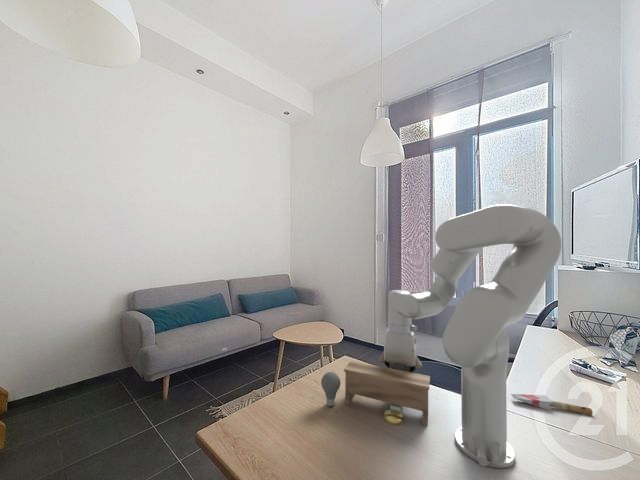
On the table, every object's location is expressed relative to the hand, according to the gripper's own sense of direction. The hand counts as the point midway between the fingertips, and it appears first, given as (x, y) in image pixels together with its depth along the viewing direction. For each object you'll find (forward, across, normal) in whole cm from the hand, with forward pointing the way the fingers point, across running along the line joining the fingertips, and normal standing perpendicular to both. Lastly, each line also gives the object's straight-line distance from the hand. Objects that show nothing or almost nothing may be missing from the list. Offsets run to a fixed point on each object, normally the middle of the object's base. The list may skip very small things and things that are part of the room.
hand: (399, 383), depth 87 cm
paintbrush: (+5, -43, -15) cm, 46 cm away
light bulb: (+5, +19, +14) cm, 24 cm away
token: (+5, 0, +12) cm, 13 cm away
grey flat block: (+4, 0, +4) cm, 6 cm away
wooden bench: (+5, +3, +8) cm, 10 cm away
